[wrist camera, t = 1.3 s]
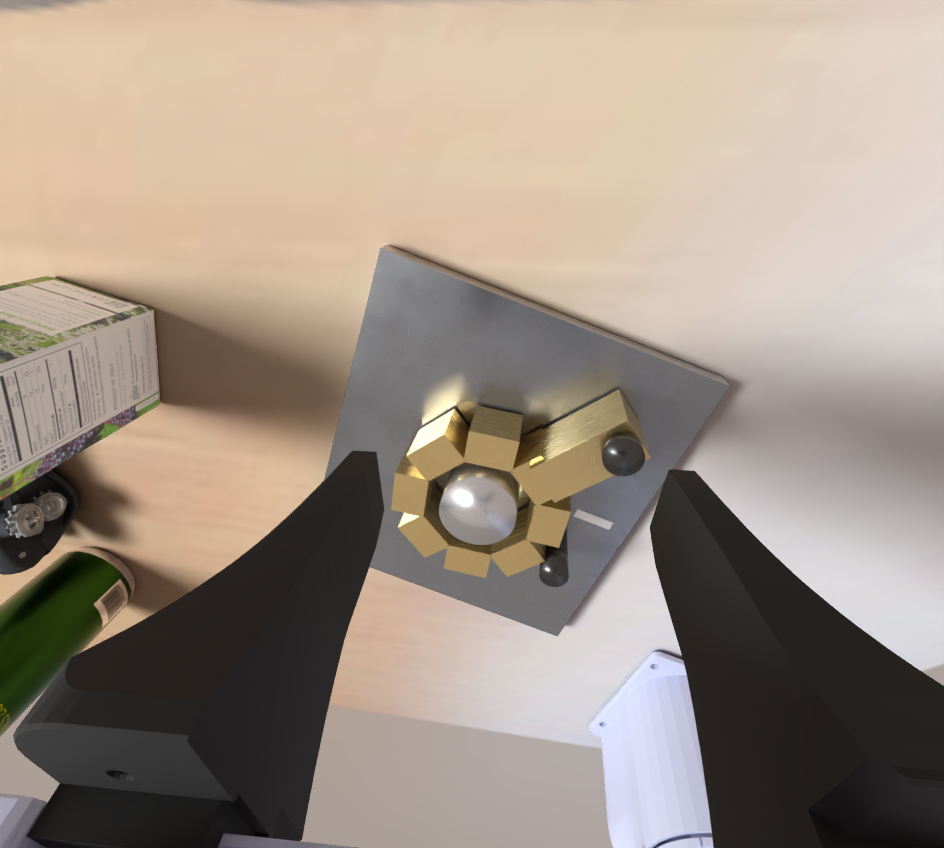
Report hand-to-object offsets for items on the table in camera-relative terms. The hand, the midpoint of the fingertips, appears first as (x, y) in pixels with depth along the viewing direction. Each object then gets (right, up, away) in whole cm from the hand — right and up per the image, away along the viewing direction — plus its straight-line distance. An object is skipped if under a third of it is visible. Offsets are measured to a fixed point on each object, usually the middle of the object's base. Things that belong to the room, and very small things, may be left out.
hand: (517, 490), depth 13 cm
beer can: (-27, -9, +23) cm, 37 cm away
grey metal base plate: (0, -1, +14) cm, 14 cm away
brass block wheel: (+1, 0, +12) cm, 12 cm away
